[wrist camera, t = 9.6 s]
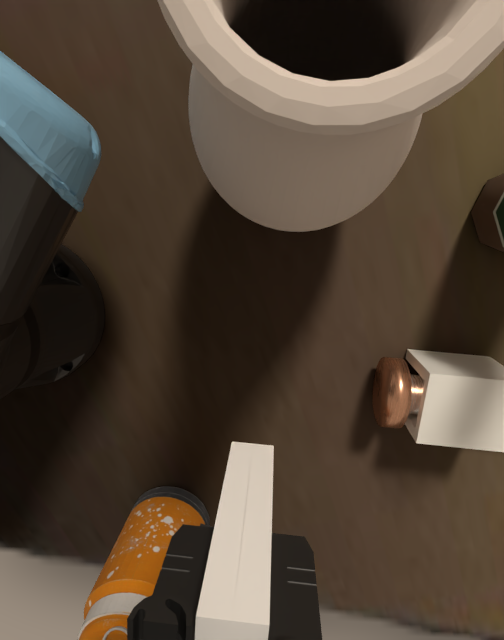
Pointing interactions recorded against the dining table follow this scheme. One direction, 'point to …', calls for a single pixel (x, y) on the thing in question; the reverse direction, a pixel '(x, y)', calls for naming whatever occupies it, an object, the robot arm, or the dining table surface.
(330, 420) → the dining table surface
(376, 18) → the vase
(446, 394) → the sleeve
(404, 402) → the bolt
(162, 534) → the canister
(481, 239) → the beer bottle
